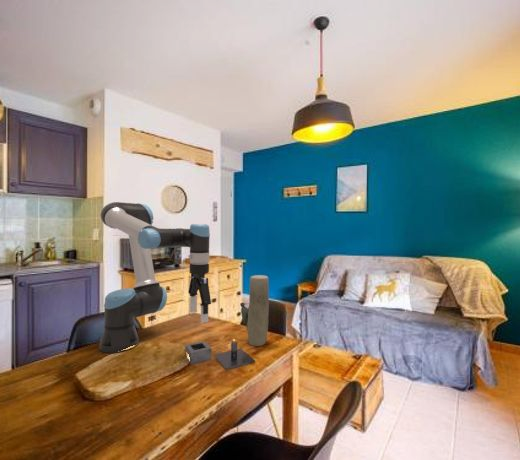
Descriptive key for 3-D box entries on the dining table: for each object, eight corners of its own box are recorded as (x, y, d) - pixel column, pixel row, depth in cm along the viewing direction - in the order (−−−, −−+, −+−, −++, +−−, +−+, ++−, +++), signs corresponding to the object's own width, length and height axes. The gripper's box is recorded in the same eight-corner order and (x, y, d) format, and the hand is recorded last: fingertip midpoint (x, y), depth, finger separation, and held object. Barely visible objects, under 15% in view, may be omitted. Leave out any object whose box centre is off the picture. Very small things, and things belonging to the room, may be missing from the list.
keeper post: (214, 356, 113) (214, 336, 113) (240, 350, 119) (241, 331, 119) (226, 370, 102) (226, 348, 102) (254, 362, 109) (255, 341, 108)
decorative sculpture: (235, 343, 126) (236, 276, 125) (244, 335, 135) (245, 273, 134) (263, 348, 121) (264, 279, 120) (271, 340, 130) (272, 275, 129)
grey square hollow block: (185, 355, 113) (185, 344, 113) (204, 351, 117) (204, 340, 117) (191, 364, 106) (191, 352, 106) (211, 359, 110) (211, 348, 110)
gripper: (181, 260, 120) (180, 309, 120) (200, 268, 98) (199, 328, 98) (198, 259, 123) (197, 307, 124) (220, 266, 102) (219, 325, 102)
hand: (198, 316), depth 111 cm, fingers open, 13 cm apart
